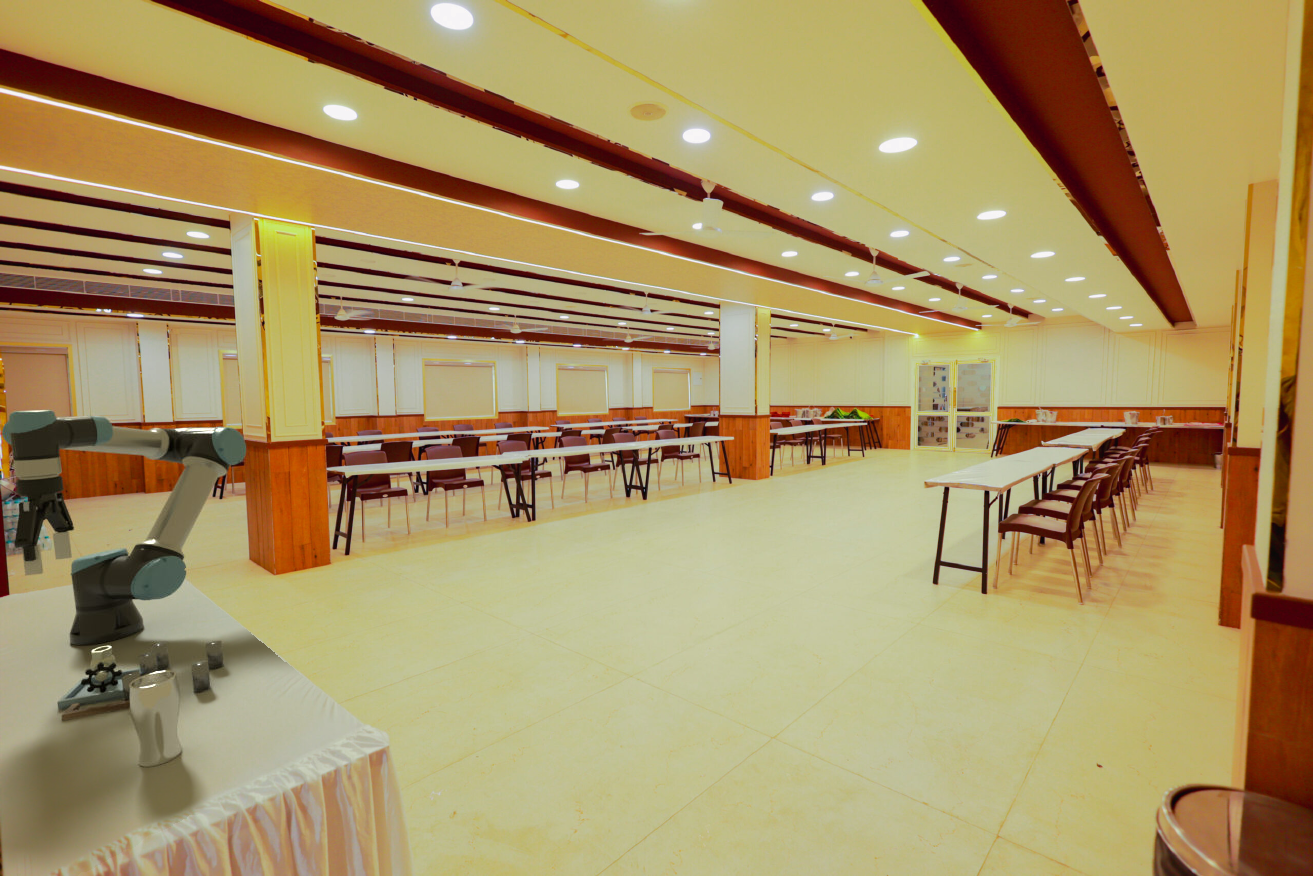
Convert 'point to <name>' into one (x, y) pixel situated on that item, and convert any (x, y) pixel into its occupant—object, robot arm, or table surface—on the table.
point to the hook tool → (93, 709)
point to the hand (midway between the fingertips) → (49, 566)
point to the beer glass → (156, 716)
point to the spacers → (160, 662)
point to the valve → (102, 669)
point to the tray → (93, 692)
